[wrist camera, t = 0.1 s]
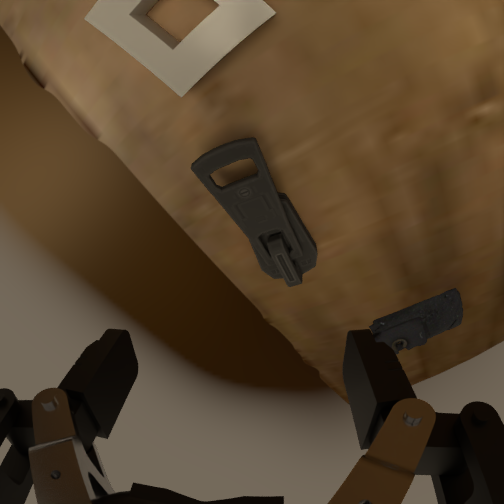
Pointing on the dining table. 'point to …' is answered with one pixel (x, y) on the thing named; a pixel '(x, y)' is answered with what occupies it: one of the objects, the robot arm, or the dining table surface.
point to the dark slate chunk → (419, 321)
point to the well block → (167, 47)
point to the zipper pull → (260, 212)
